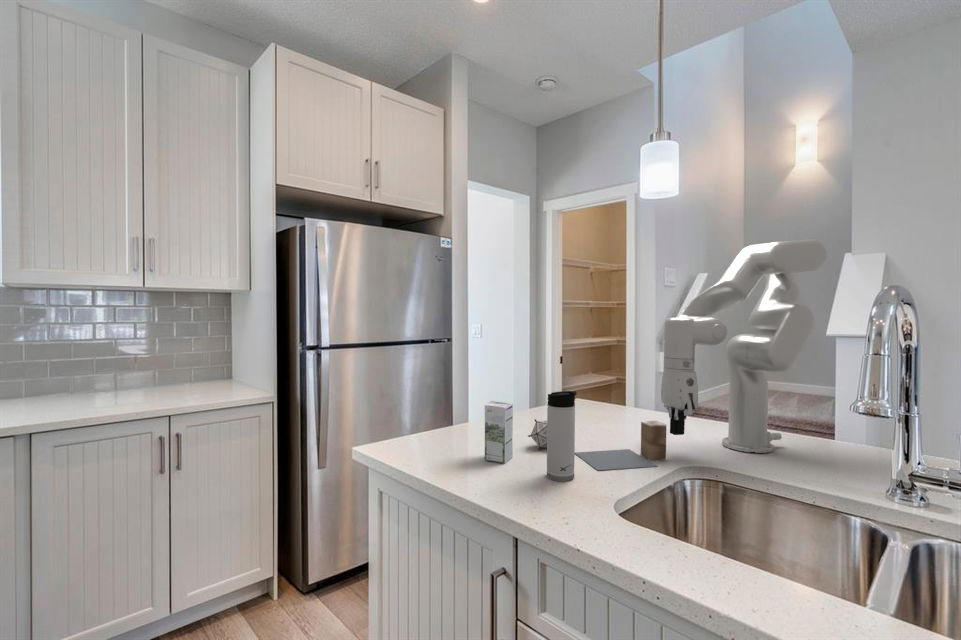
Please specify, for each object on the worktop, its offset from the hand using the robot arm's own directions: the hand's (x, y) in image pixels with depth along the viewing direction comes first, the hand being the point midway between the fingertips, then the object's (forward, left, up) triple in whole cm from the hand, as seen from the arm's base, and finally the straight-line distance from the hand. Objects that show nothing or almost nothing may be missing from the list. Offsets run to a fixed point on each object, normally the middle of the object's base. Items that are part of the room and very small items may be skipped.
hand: (677, 433), depth 129 cm
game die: (+32, -13, -6) cm, 35 cm away
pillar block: (+7, 0, -6) cm, 9 cm away
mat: (+18, 0, -6) cm, 19 cm away
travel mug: (+36, +9, -6) cm, 37 cm away
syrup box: (+47, -6, -6) cm, 48 cm away
